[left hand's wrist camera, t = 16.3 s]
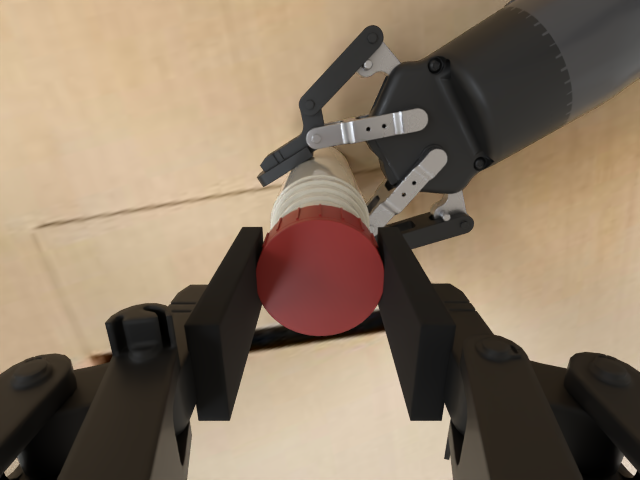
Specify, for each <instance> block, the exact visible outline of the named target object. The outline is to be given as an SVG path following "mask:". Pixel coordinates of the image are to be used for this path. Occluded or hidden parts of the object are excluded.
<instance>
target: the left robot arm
mask: <svg viewBox="0 0 640 480" xmlns="http://www.w3.org/2000/svg"><path fill="white" fill-rule="evenodd" d="M262 245H263V230H262V227H242V229H241V230H240V232H239V234H238V236H237V237H236V239H235V241H234V242H233V244H232V246H231V247H230V249H229V251H228V252H227V254H226V256H225V257H224V259H223V261H222V262H221V264H220V266H219V267H218V269H217V271H216V272H215V274H214V276H213V278H212V279H211V281H210V283H209V284H208V285H189V286H188V287H186V288H185V289H183V290H182V291H180V292H179V293H178V294H177V295H176V296H175V298H174V299H173V300H172V302H171V304H170V305H169V306H168V307H167V306H166V305H162V304H158V303H145V304H140V305H135V306H131V307H129V308H126V309H123V310H121V311H119V312H117V313H116V314H114V315H112V316H111V317H110V318H109V319H108V320H107V321H106V323H105V325H106V329H107V333H108V337H109V341H110V346H111V350H112V354H113V357H112V359H111V361H110V362H109V363H105V364H101V365H97V366H92V367H87V368H82V369H77V370H73V366H72V363H71V360H70V359H69V358H68V357H67V356H65V355H61V354H47V355H39V356H35V357H32V358H29V359H26V360H24V361H22V362H20V363H18V364H16V365H14V366H12V367H10V368H9V369H8V370H6V371H5V372H3V373H2V374H0V480H187V474H188V465H189V456H190V447H191V438H192V433H191V426H190V417H191V415H192V412H193V410H194V407H195V405H196V407H197V413H198V420H199V421H230V418H231V414H232V411H233V407H234V403H235V400H236V396H237V393H238V389H239V386H240V382H241V378H242V375H243V371H244V368H245V364H246V360H247V357H248V353H249V350H250V346H251V342H252V339H253V335H254V332H255V328H256V325H257V321H258V317H259V314H260V310H261V307H262V302H261V301H260V298H259V296H258V292H257V279H256V266H257V262H258V259H259V257H260V254H261V251H262V249H263V247H262ZM377 245H378V251H379V254H380V256H381V259H382V262H383V266H384V282H383V293H382V296H381V299H380V301H379V303H378V306H379V309H380V313H381V317H382V320H383V324H384V327H385V331H386V334H387V338H388V342H389V345H390V349H391V352H392V356H393V360H394V363H395V367H396V370H397V374H398V377H399V381H400V385H401V388H402V392H403V395H404V399H405V403H406V406H407V410H408V413H409V417H410V421H442V415H443V408H444V402H445V405H446V407H447V410H448V412H449V415H450V417H451V420H450V426H449V432H448V438H447V444H446V450H445V457H444V459H447V460H449V458H450V456H451V465H452V474H453V480H640V372H639V371H637V370H636V369H634V368H633V367H631V366H630V365H629V364H627V363H624V362H622V361H620V360H618V359H616V358H614V357H611V356H608V355H607V356H606V355H605V354H600V353H591V352H583V353H576V354H575V355H573V356H572V357H571V358H570V361H569V364H568V367H567V369H566V368H561V367H556V366H552V365H547V364H542V363H537V362H534V361H530V360H529V358H528V356H527V354H526V353H525V352H524V350H523V349H522V348H521V347H520V346H518V345H517V344H515V343H514V342H513V341H511V340H508V339H506V338H504V337H501V336H497V335H494V334H493V333H492V331H491V330H490V329H489V327H488V326H487V325H486V323H485V322H484V320H483V319H482V318H481V316H480V315H479V314H478V312H477V311H475V308H474V307H473V305H472V304H471V303H469V300H468V299H467V297H466V296H465V294H464V293H463V292H462V291H461V290H459V289H457V288H456V287H454V286H453V285H451V284H431V282H430V280H429V279H428V277H427V275H426V274H425V272H424V270H423V269H422V267H421V265H420V264H419V262H418V260H417V259H416V257H415V255H414V254H413V252H412V250H411V249H410V247H409V245H408V243H407V242H406V240H405V238H404V237H403V235H402V233H401V232H400V230H399V228H398V227H378V234H377ZM624 456H625V457H626V458H627V459H628V460H629V461H630V463H631V464H632V465H633V466H634V467H635V468H636V470H637V472H636V474H635V476H633V475H632V474H631V473H630V472H629V471H628V470H627V469H626V468H625V467H624V465H623V464H622V463H621V462H622V459H623V457H624ZM16 458H18V461H19V463H20V464H19V466H18V467H17V468H16V469H15V470H14V472H12V473H11V474H10V475H9V476H8V477H6V476H5V474H4V472H5V470H6V469H7V468H8V467H9V466H10V465H11V463H12V462H13V461H14V460H15V459H16Z"/></svg>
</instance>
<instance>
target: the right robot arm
mask: <svg viewBox="0 0 640 480" xmlns="http://www.w3.org/2000/svg"><path fill="white" fill-rule="evenodd" d="M355 72H356V74H357V75H358V76H360V77H362V78H367V77H370V76H372V75H373V74H374V73H377V72H380V73H383V74H385V75H386V77H385V80H384V82H383V84H382V87H381V89H380V91H379V93H378V96H377V98H376V100H375V102H374V105H373V107H372V109H371V112H370V114H366V115H361V116H356V117H351V118H346V119H343V120H339V121H334V122H329V123H324V121H323V115H322V110H321V108H322V107H323V106H324V105H325V104H326V103H327V102H328V101H329V100H330V99H331V98H332V97H333V96H334V95H335V93H336V92H337V91H338V90H339V89H340V88H341V87H342V86H343V85H344V84H345V83H346V82H347V81H348V80H349V79H350V78H351V77H352V76H353V75H354V74H355ZM639 78H640V0H512V1H510V2H509V3H508V4H507V5H505V7H504V8H502V9H501V10H499V11H498V12H496V13H494V14H493V15H491V16H490V17H488V18H487V19H485V20H484V21H482V22H480V23H479V24H477V25H476V26H474V27H473V28H471V29H469V30H468V31H466V32H465V33H463V34H462V35H460V36H458V37H457V38H455V39H454V40H452V41H451V42H449V43H447V44H446V45H444V46H443V47H441V48H440V49H438V50H436V51H435V52H433V53H432V54H430V55H429V56H427V57H425V58H424V59H422V60H420V61H414V62H403V63H400V61H399V60H398V59H397V58H396V57H395V55H394V54H393V53H392V52H391V51H390V49H389V48H388V47H387V46H386V45H385V43H384V42H383V33H382V30H381V29H380V28H379V27H377V26H374V25H371V26H368V27H366V28H365V29H364V30H363V31H362V32H361V34H360V35H359V36H358V37H357V38H356V39H355V40H354V41H353V42H352V43H351V44H350V45H349V47H348V48H347V49H346V50H345V51H344V52H343V53H342V54H341V55H340V56H339V57H338V58H337V59H336V61H335V62H334V63H333V64H332V65H331V66H330V67H329V68H328V69H327V70H326V71H325V72H324V74H323V75H322V76H321V77H320V78H319V79H318V80H317V81H316V82H315V83H314V84H313V85H312V87H311V88H310V89H309V90H308V91H307V92H306V93H305V94H304V95H303V96H302V97H301V99H300V101H299V108H300V110H301V115H302V120H303V131H302V133H301V134H300V135H299V136H297V137H296V138H294V139H292V140H291V141H289V142H288V143H286V144H285V145H283V146H281V147H280V148H278V149H277V150H275V151H274V152H272V153H270V154H269V155H268V156H267V157H266V158H265V159H264V161H263V162H262V164H261V165H260V166H261V168H262V169H263V171H262V172H261V173H260V174H259V175H258V177H257V178H258V180H259V181H260V183H261V184H262V186H263V187H264V186H266V185H268V184H270V183H271V182H273V181H274V180H276V179H278V178H279V177H281V176H283V175H284V174H286V173H287V172H289V171H291V170H292V169H294V168H295V167H297V166H298V165H300V164H302V163H304V162H305V161H307V160H308V159H310V158H312V157H313V154H314V151H316V150H317V149H321V148H327V147H332V146H337V145H342V144H351V143H357V142H362V141H366V142H367V144H368V146H369V148H370V149H371V150H372V151H373V152H374V153H375V154H376V155H377V156H378V158H379V162H380V166H381V170H382V171H383V173H384V175H385V177H386V179H385V180H384V181H383V182H382V184H381V185H380V186H379V187H378V188H377V190H376V193H375V194H374V196H373V197H372V198H371V199H370V200H369V202H368V203H367V204H366V206H367V208H368V212H369V219H370V232H371V233H373V234H374V237H375V239H376V242H377V234H378V227H398V228H399V230H400V232H401V233H402V235H403V237H404V238H405V240H406V242H407V243H408V245H409V247H410V249H414V248H417V247H421V246H424V245H428V244H431V243H434V242H438V241H441V240H445V239H448V238H452V237H455V236H458V235H462V234H465V233H468V232H470V231H471V230H472V228H473V226H474V221H473V219H472V218H471V217H470V216H469V215H468V214H467V213H466V208H465V203H464V198H463V193H462V190H463V189H464V188H465V187H466V186H467V185H468V183H469V182H470V180H471V179H472V178H473V177H474V176H475V175H476V174H477V173H478V172H480V171H482V170H484V169H486V168H488V167H490V166H492V165H494V164H496V163H498V162H500V161H502V160H503V159H505V158H507V157H509V156H511V155H512V154H514V153H516V152H518V151H519V150H521V149H523V148H525V147H527V146H528V145H530V144H532V143H534V142H536V141H537V140H539V139H541V138H543V137H545V136H546V135H548V134H550V133H552V132H553V131H555V130H557V129H559V128H561V127H563V126H564V125H566V124H568V123H570V122H571V121H573V120H575V119H577V118H579V117H580V116H582V115H584V114H586V113H588V112H589V111H591V110H593V109H595V108H597V107H598V106H600V105H601V104H603V103H605V102H606V101H608V100H610V99H611V98H612V97H614V96H615V95H617V94H618V93H620V92H621V91H622V90H624V89H625V88H626V87H628V86H629V85H630V84H632V83H633V82H635V81H636V80H638V79H639ZM418 192H429V193H442V194H444V195H443V197H442V199H441V200H440V201H438V202H436V203H435V204H433V205H432V207H431V209H430V212H428V213H425V214H422V215H418V216H415V217H412V218H408V219H405V220H402V221H398V222H395V223H392V224H388V225H387V223H388V222H389V221H390V219H391V218H392V217H393V216H394V215H396V214H399V213H400V212H401V211H402V210H403V209H404V208H405V207H406V206H407V205H408V204H409V202H410V201H411V200H412V199H413V198H414V197H415V196H416V195H417V194H418ZM402 193H404V194H403V195H402Z"/></svg>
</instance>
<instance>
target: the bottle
mask: <svg viewBox="0 0 640 480" xmlns="http://www.w3.org/2000/svg"><path fill="white" fill-rule="evenodd" d="M319 204H321V205H328V206H334V207H338V208H343V210H346V211H348V212H350V213H351V214H353V215H355V216H356V217H357V218H361V221H362V222H363V223H364V224H365V225H366V227H367V228H368V229H369V231H370V219H369V212H368V208H367V206H366V203H365V201H364V198H363V196H362V194H361V191H360V189H359V187H358V184H357V182H356V180H355V177H354V175H353V173H352V170H351V168H350V166H349V163H348V161H347V160H346V158H345V157H344V155H343V154H342V153H341V152H340V151H338V150H337V149H335V148H333V147H327V148H321V149H317V150H316V151H314V154H313V157H312V158H310V159H308V160H307V161H305V162H304V163H302V164H300V165H298V166H297V167H295V168H294V169H292V170H291V171H289V172H288V173H287V175H286V178H285V180H284V182H283V185H282V187H281V189H280V192H279V194H278V196H277V199H276V201H275V203H274V206H273V209H272V213H271V222H270V223H271V224H270V230H271V229H272V228H273V227H274V225H275V224H276V223H277V222H278V221H279V219H280V218H283V217H284V216H285V215H287V214H289V213H290V212H292V211H294V210H297V209H298V208H299V207H300V208H303V207H306V206H312V205H319Z"/></svg>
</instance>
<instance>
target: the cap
mask: <svg viewBox="0 0 640 480" xmlns="http://www.w3.org/2000/svg"><path fill="white" fill-rule="evenodd" d="M262 247H263V249H262V251H261V254H260V257H259V259H258V262H257V266H256V279H257V292H258V296H259V298H260V301H261V302H262V304H263V306H264V308H265V309H266V310H267V312H268V313H269V314H270V315H271V316H272V317H273V318H274V319H275V320H276V321H278V322H279V323H280V324H282V325H283V326H285V327H287V328H289V329H291V330H293V331H296V332H299V333H302V334H306V335H314V336H327V335H334V334H338V333H342V332H344V331H347V330H349V329H351V328H353V327H355V326H357V325H358V324H360V323H361V322H363V321H364V320H365V319H366V318H367V317H368V316H369V315H370V314H371V313H372V312H373V311H374V309H375V308H376V306H377V305H378V303H379V301H380V299H381V296H382V293H383V282H384V266H383V262H382V259H381V256H380V254H379V251H378V245H377V242H376V239H375V237H374V234H373V233H371V232H370V231H369V229H368V228H367V227H366V225H365V224H364V223H363V222H362V221H361V218H357V217H356V216H355V215H353V214H351V213H350V212H348V211H346V210H343V208H338V207H334V206H328V205H321V204H319V205H312V206H306V207H303V208H300V207H299V208H298V209H297V210H294V211H292V212H290V213H289V214H287V215H285V216H284V217H283V218H280V219H279V221H278V222H277V223H276V224H275V225H274V227H273V228H272V229H271V231H270V232H269V233H267V235H266V237H265V240H264V242H263V245H262Z"/></svg>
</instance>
